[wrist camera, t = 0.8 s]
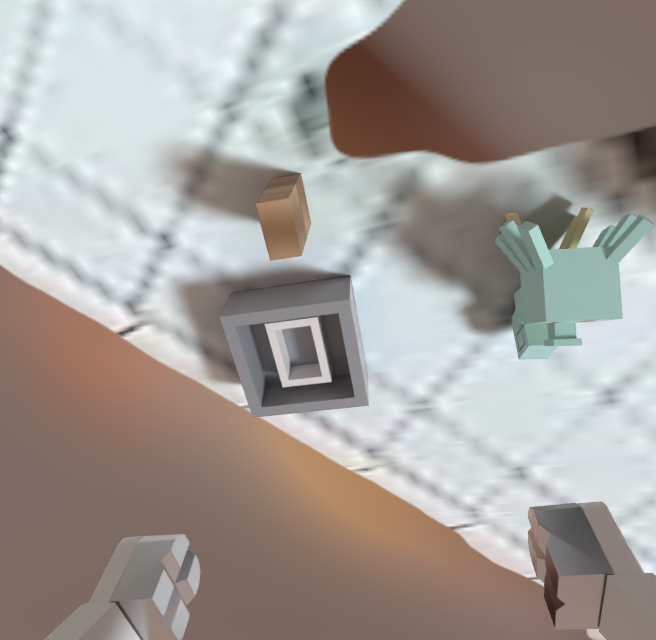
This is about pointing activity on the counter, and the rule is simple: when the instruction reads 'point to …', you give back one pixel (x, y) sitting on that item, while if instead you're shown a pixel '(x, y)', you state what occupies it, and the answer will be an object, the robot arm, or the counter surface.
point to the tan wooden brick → (284, 217)
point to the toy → (565, 279)
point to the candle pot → (297, 347)
